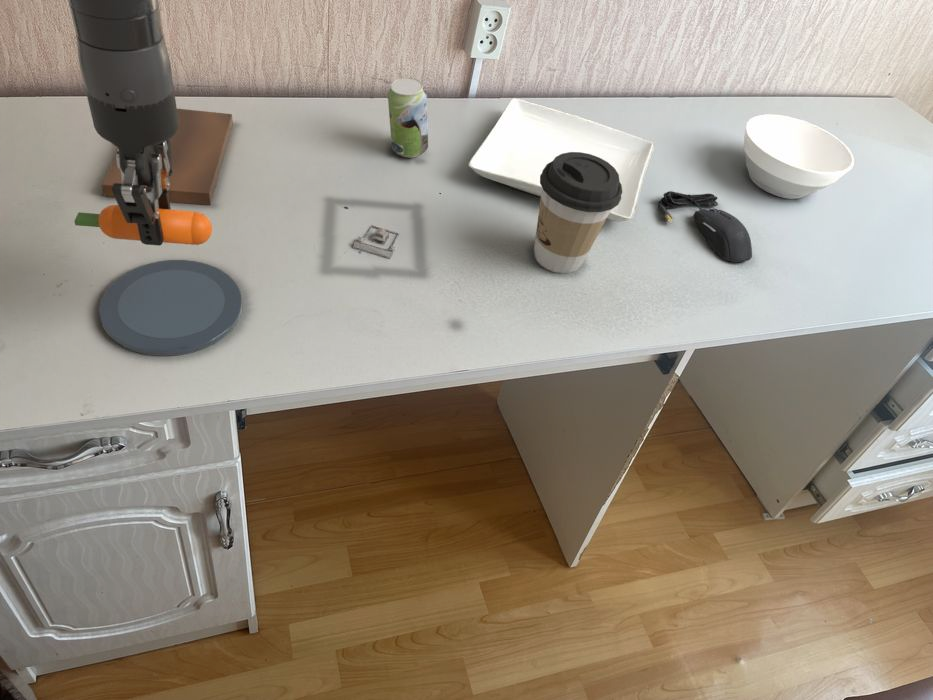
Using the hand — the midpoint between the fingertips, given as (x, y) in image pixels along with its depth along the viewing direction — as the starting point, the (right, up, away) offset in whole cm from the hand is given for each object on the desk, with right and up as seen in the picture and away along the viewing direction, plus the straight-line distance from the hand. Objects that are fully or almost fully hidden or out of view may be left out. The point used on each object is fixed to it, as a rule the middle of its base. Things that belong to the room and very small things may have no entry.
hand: (157, 230), depth 77 cm
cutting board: (-10, +16, +29) cm, 34 cm away
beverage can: (+24, +20, +40) cm, 51 cm away
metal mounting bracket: (+23, -1, +21) cm, 31 cm away
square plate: (+50, +18, +44) cm, 69 cm away
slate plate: (-2, -8, +8) cm, 11 cm away
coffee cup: (+47, 0, +27) cm, 55 cm away
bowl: (+91, +18, +53) cm, 107 cm away
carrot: (-1, -1, +1) cm, 2 cm away
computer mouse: (+72, +6, +38) cm, 82 cm away
